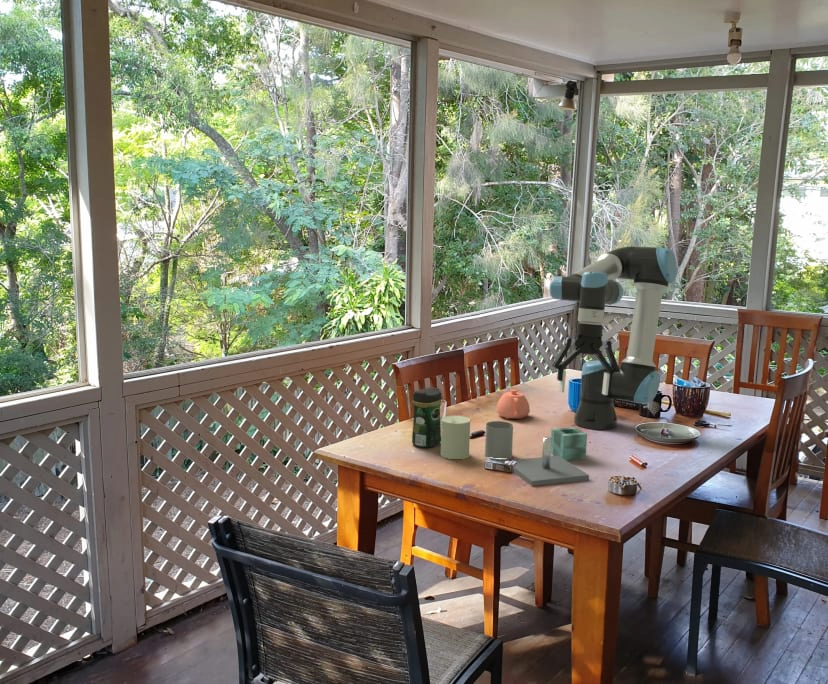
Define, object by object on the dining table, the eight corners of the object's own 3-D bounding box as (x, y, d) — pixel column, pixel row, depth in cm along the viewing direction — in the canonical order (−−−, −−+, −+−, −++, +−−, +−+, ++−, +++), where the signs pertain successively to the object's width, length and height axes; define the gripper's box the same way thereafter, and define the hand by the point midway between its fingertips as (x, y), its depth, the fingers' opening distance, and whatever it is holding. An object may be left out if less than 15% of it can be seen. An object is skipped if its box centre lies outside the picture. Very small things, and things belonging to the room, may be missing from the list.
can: (435, 457, 236) (436, 419, 234) (445, 449, 245) (446, 412, 243) (464, 461, 233) (465, 423, 231) (473, 452, 241) (474, 416, 239)
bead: (572, 451, 245) (574, 426, 243) (585, 458, 237) (587, 434, 236) (550, 453, 242) (551, 428, 241) (562, 461, 235) (564, 436, 234)
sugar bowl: (526, 412, 291) (527, 386, 289) (533, 422, 277) (534, 395, 275) (494, 412, 291) (495, 385, 289) (499, 422, 277) (500, 394, 275)
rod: (547, 466, 226) (549, 436, 224) (551, 468, 223) (553, 438, 222) (540, 466, 225) (541, 437, 223) (544, 469, 223) (545, 439, 221)
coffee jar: (424, 438, 256) (426, 384, 252) (444, 443, 251) (446, 387, 248) (407, 445, 248) (408, 389, 245) (427, 450, 243) (428, 393, 240)
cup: (484, 451, 243) (485, 420, 242) (510, 451, 243) (511, 421, 241) (485, 459, 235) (487, 428, 233) (512, 460, 235) (514, 428, 233)
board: (558, 460, 236) (558, 455, 235) (588, 480, 219) (589, 475, 218) (504, 465, 230) (504, 460, 230) (531, 486, 213) (532, 480, 213)
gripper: (553, 321, 225) (546, 392, 226) (634, 327, 228) (627, 397, 230) (546, 319, 232) (539, 388, 234) (625, 325, 235) (617, 393, 237)
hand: (583, 393), depth 232 cm, fingers open, 13 cm apart
